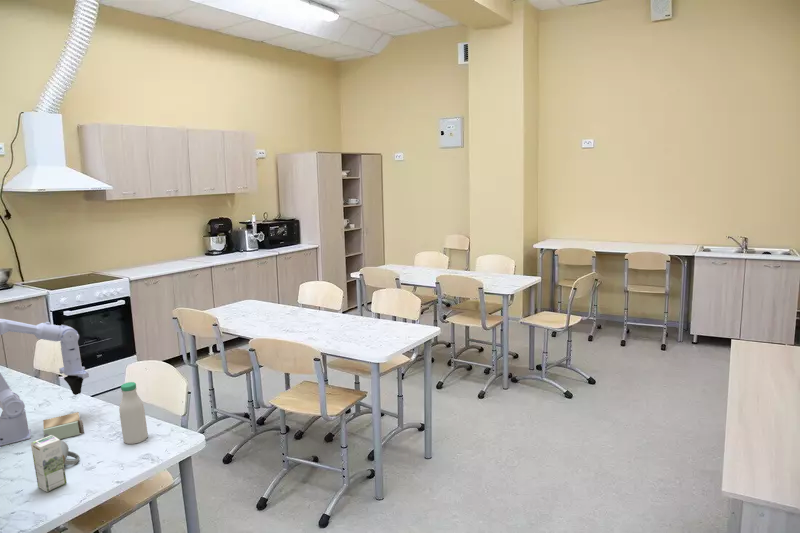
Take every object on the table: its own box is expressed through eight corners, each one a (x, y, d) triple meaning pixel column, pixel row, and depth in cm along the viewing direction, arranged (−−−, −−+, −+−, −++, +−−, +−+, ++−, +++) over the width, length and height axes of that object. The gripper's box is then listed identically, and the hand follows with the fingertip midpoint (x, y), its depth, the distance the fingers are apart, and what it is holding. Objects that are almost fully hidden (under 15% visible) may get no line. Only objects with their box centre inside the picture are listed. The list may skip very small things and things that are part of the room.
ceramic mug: (39, 476, 178) (36, 452, 177) (42, 463, 185) (39, 441, 184) (79, 467, 183) (75, 444, 181) (80, 455, 190) (77, 434, 188)
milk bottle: (152, 438, 199) (144, 383, 196) (129, 447, 194) (121, 390, 190) (142, 431, 205) (134, 378, 201) (119, 440, 199) (111, 385, 195)
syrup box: (57, 478, 176) (50, 433, 174) (67, 483, 173) (60, 438, 170) (37, 487, 172) (29, 441, 169) (47, 493, 168) (39, 446, 166)
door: (45, 443, 198) (43, 431, 197) (45, 441, 200) (43, 429, 199) (79, 435, 203) (77, 423, 203) (79, 433, 205) (77, 421, 204)
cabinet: (45, 443, 199) (43, 429, 198) (45, 433, 207) (43, 420, 206) (84, 433, 205) (82, 420, 204) (82, 424, 213) (80, 411, 212)
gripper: (94, 357, 213) (99, 392, 216) (70, 353, 220) (75, 386, 223) (75, 364, 207) (81, 400, 210) (51, 359, 214) (57, 393, 217)
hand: (77, 393), depth 216 cm, fingers closed
